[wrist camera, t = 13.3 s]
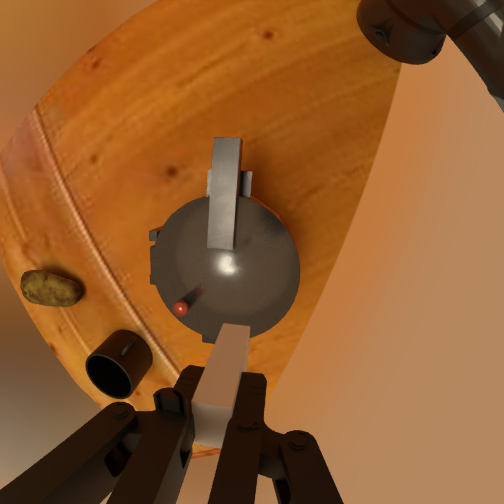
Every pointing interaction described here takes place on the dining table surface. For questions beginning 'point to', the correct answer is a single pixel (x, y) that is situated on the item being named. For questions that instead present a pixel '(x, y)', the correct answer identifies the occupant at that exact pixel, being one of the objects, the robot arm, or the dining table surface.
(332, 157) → the dining table surface
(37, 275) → the potato
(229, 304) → the lid
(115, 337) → the mug
